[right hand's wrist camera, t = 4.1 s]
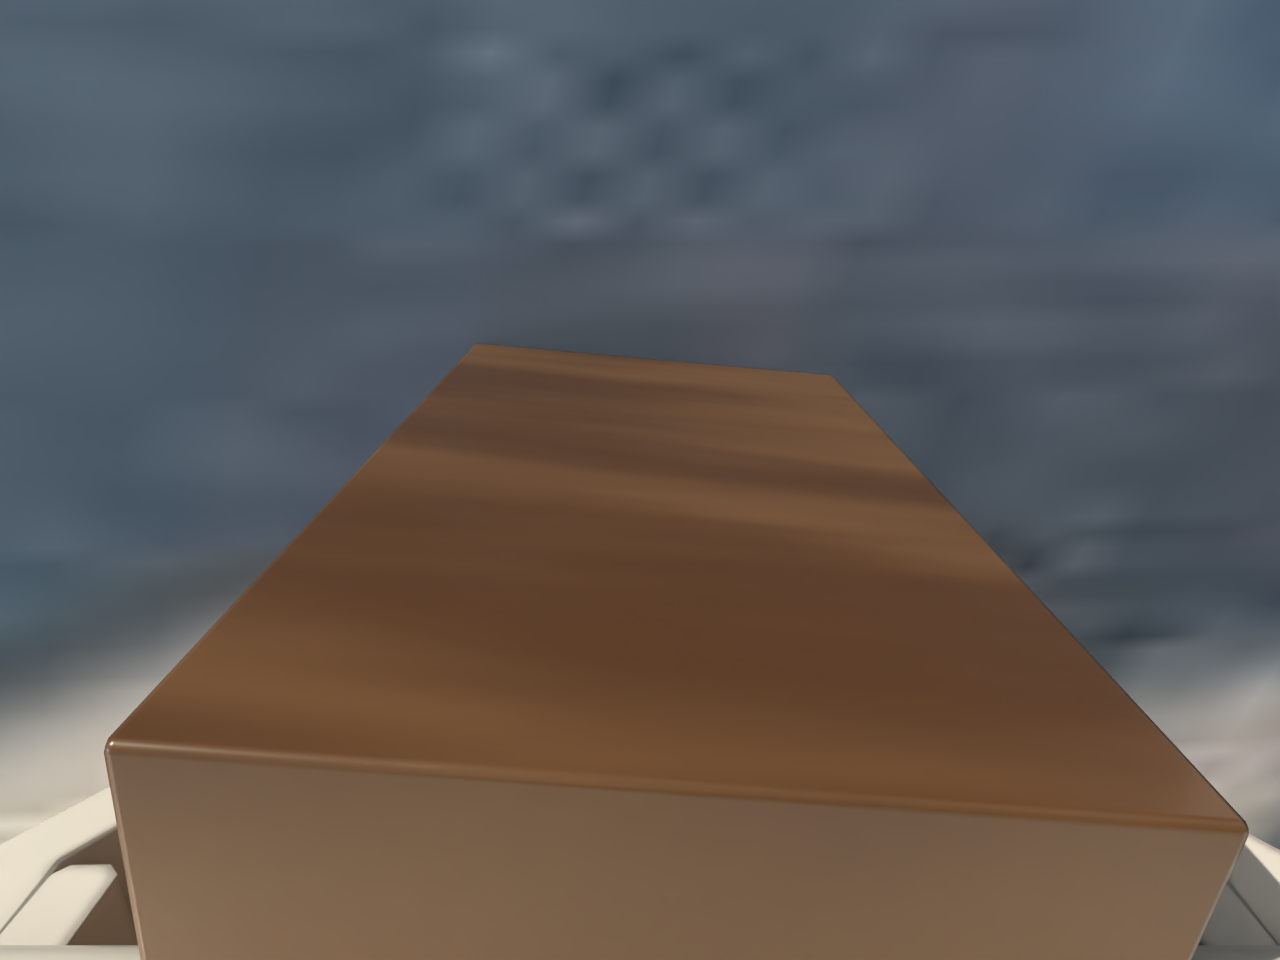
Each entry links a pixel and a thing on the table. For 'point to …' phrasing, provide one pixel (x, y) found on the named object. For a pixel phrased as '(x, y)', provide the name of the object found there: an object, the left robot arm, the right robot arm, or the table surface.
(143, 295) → the table surface
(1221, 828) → the box
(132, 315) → the table surface
